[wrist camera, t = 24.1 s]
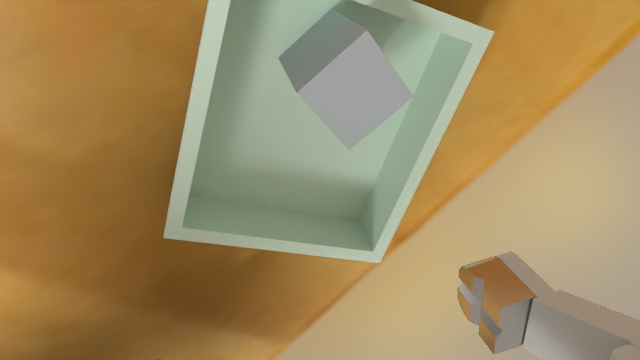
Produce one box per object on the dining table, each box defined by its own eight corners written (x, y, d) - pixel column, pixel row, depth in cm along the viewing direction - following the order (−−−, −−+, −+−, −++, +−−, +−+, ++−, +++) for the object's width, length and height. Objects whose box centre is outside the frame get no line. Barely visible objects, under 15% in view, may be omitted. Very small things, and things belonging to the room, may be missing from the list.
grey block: (321, 106, 28) (349, 150, 23) (277, 57, 26) (296, 93, 20) (371, 62, 28) (413, 96, 22) (331, 8, 25) (367, 29, 19)
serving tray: (361, 227, 36) (379, 263, 32) (169, 199, 30) (163, 237, 26) (456, 18, 28) (494, 31, 24) (221, -71, 22) (222, -72, 19)
